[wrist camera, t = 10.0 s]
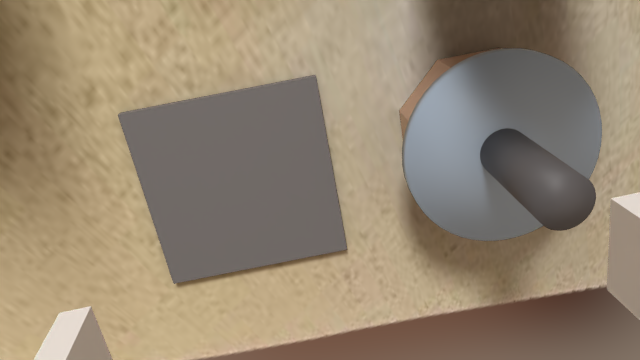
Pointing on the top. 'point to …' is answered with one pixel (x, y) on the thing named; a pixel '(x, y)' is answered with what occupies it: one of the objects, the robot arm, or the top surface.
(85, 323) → the robot arm
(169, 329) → the top surface
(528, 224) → the lid
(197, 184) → the mat
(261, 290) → the top surface
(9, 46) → the top surface
